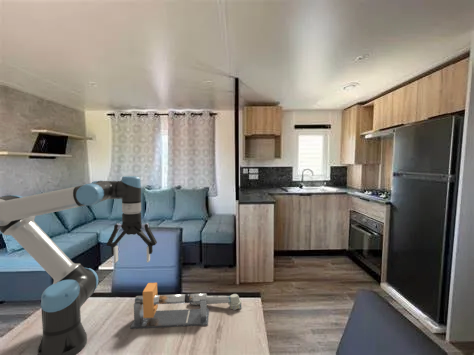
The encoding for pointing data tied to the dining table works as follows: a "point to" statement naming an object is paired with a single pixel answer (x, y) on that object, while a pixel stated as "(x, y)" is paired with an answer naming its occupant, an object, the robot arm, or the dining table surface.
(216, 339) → the dining table surface
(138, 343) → the dining table surface
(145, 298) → the collar
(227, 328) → the dining table surface
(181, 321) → the pipe rig
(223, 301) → the white blue-tipped device
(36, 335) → the dining table surface
